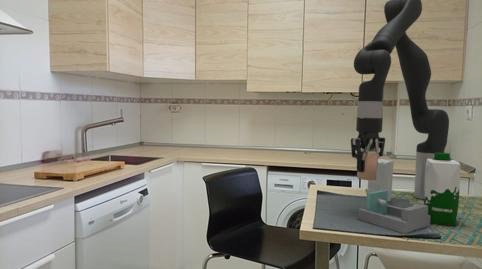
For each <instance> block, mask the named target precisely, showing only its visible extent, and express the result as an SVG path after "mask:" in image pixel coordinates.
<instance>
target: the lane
mask: <svg viewBox="0 0 482 269" xmlns="http://www.w3.org/2000/svg"><path fill="white" fill-rule="evenodd" d="M430 217H431V216H430V215H428V206H427V205H424V204H422V203H421V204H417V205H413V206H412V205H411V206H409V207H405V208H404V207H403V208H402V207H398V206H395V205H390V204H387V213H385V214H379V213H376V212H372V211H369V210H366V208H362V207H361V208H357V218H356V219H357V220H360V221H363V222H366V223H370V224H373V225H376V226H379V227H381V228H385V229H388V230H391V231H394V232H398V233H401V234H404V235H406V234H409V233H411V232H412V233H413V232H415V231H414V230H416V231H418V230H417V229H419V230H421V229H420V228H422V229H424V228H423V227H425V226H429V227H430V226H431V223H430ZM425 228H426V227H425Z"/></svg>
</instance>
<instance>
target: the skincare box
mask: <svg viewBox="0 0 482 269" xmlns="http://www.w3.org/2000/svg"><path fill="white" fill-rule="evenodd" d="M394 162H395V161H394V160H392V159H383V158H379V159H378V166H377V177H376V180H367V190H366V191H367V192H366V194H367V193H370V192H375V191H381V190H388V201H387V203H389V202H390V201H391V200H392V193H393V192H392V189H393V178H394V177H393V175H394Z"/></svg>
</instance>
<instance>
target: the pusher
mask: <svg viewBox="0 0 482 269" xmlns="http://www.w3.org/2000/svg"><path fill="white" fill-rule="evenodd" d="M387 201H388V190H381V191H375V192H370V193H367V192H366V201H365V202H366V204H365V205H366V206H365V209H366V210H369V211H372V212H376V213H379V214H385V213H387V205H388V202H389V201H388V202H387Z"/></svg>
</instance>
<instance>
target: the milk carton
mask: <svg viewBox="0 0 482 269" xmlns="http://www.w3.org/2000/svg"><path fill="white" fill-rule="evenodd" d="M450 157H451V155H450V153H449V152H444V153H440V152H436V153H435V154H434V159H427V162H426V173H425V188H424V199H423V205H427V206H428V215H430V216H431V217H430V224H435V225H441V226H442V225H443V226H453V227H456V226H457V225H456V224H457V220H458V219H457V218H458V210H459V205H460V204H459V202H460V188H461V185H460V184H461V165H462V164H461V163H460V162H459V161H457V160H455V159H450Z"/></svg>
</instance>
